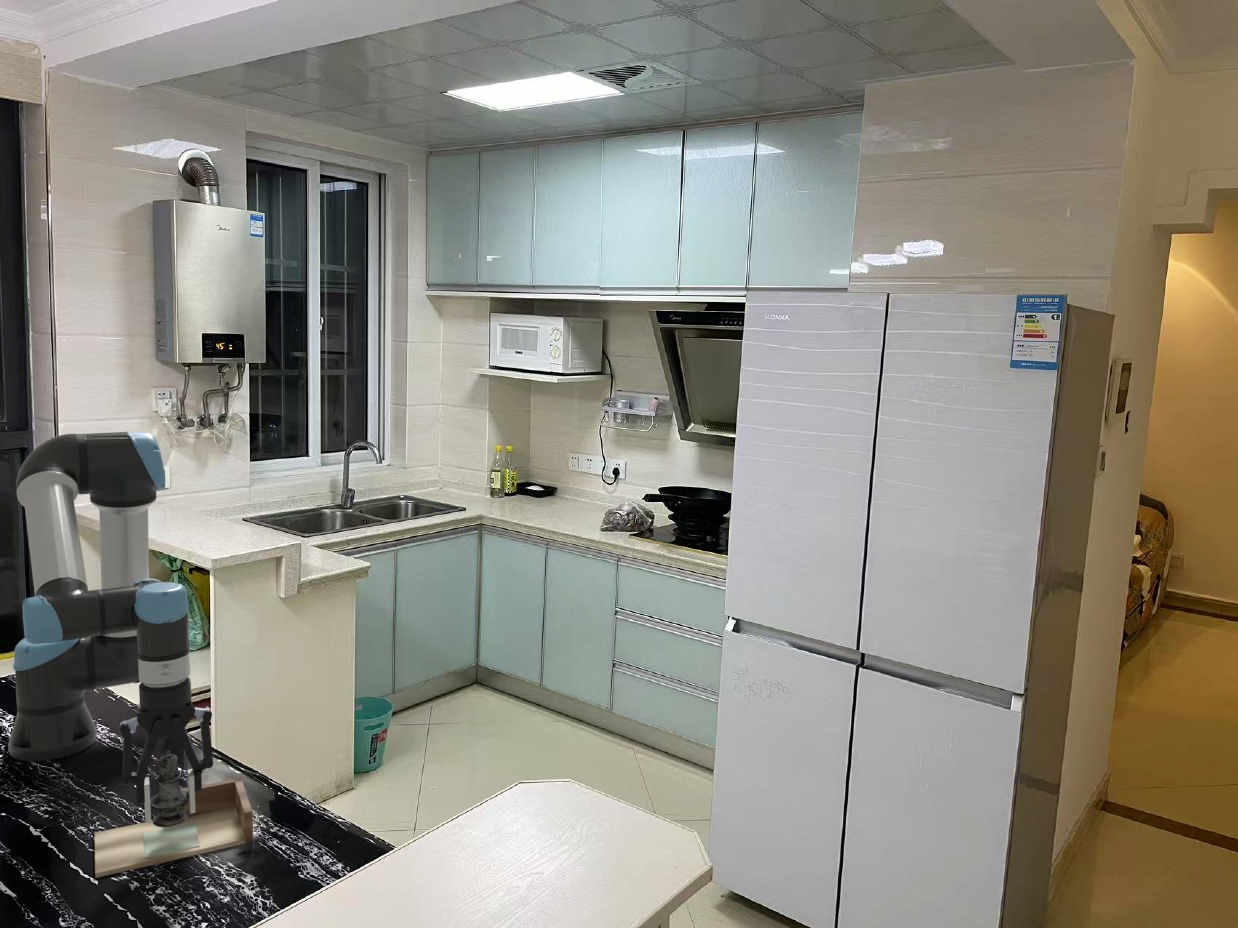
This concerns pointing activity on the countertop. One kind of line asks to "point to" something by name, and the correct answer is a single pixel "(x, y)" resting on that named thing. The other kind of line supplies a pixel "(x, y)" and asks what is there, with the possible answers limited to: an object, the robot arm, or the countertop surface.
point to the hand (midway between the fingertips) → (170, 813)
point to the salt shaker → (169, 794)
